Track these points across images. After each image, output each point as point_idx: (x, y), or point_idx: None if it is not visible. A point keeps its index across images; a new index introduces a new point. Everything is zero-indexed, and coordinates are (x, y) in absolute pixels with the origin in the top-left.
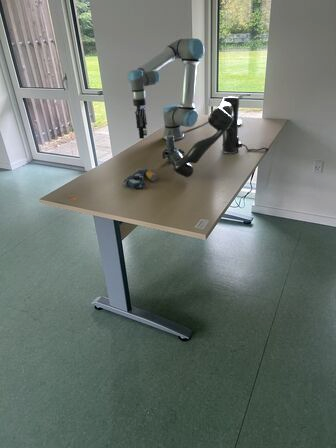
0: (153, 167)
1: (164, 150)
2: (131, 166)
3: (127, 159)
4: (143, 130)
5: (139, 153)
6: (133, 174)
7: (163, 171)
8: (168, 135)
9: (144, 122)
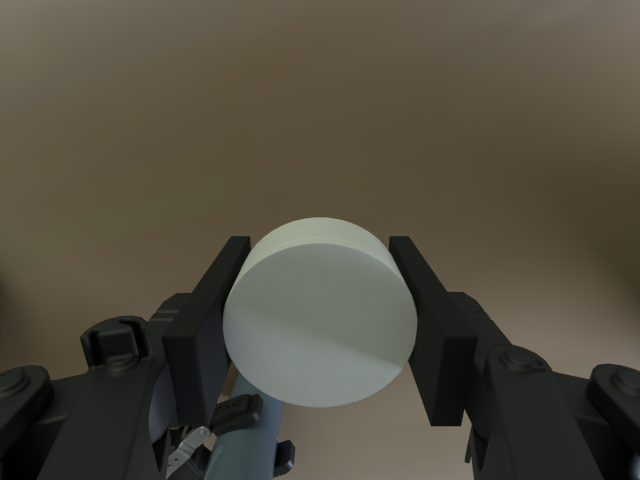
0: (125, 304)
1: (237, 407)
2: (101, 134)
3: (254, 30)
4: (252, 368)
5: (416, 106)
6: None
7: (80, 373)
8: None
9: (477, 473)
